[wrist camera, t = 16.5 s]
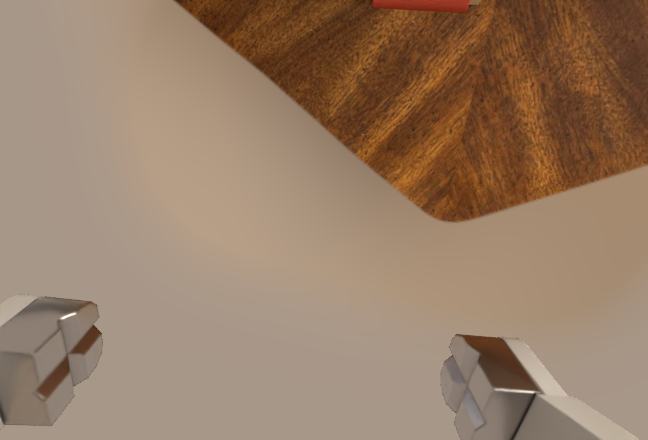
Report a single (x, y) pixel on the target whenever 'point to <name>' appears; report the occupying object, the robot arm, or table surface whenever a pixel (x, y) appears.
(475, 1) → the wooden lever stand
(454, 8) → the lever
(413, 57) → the table surface
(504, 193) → the table surface
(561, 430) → the robot arm
